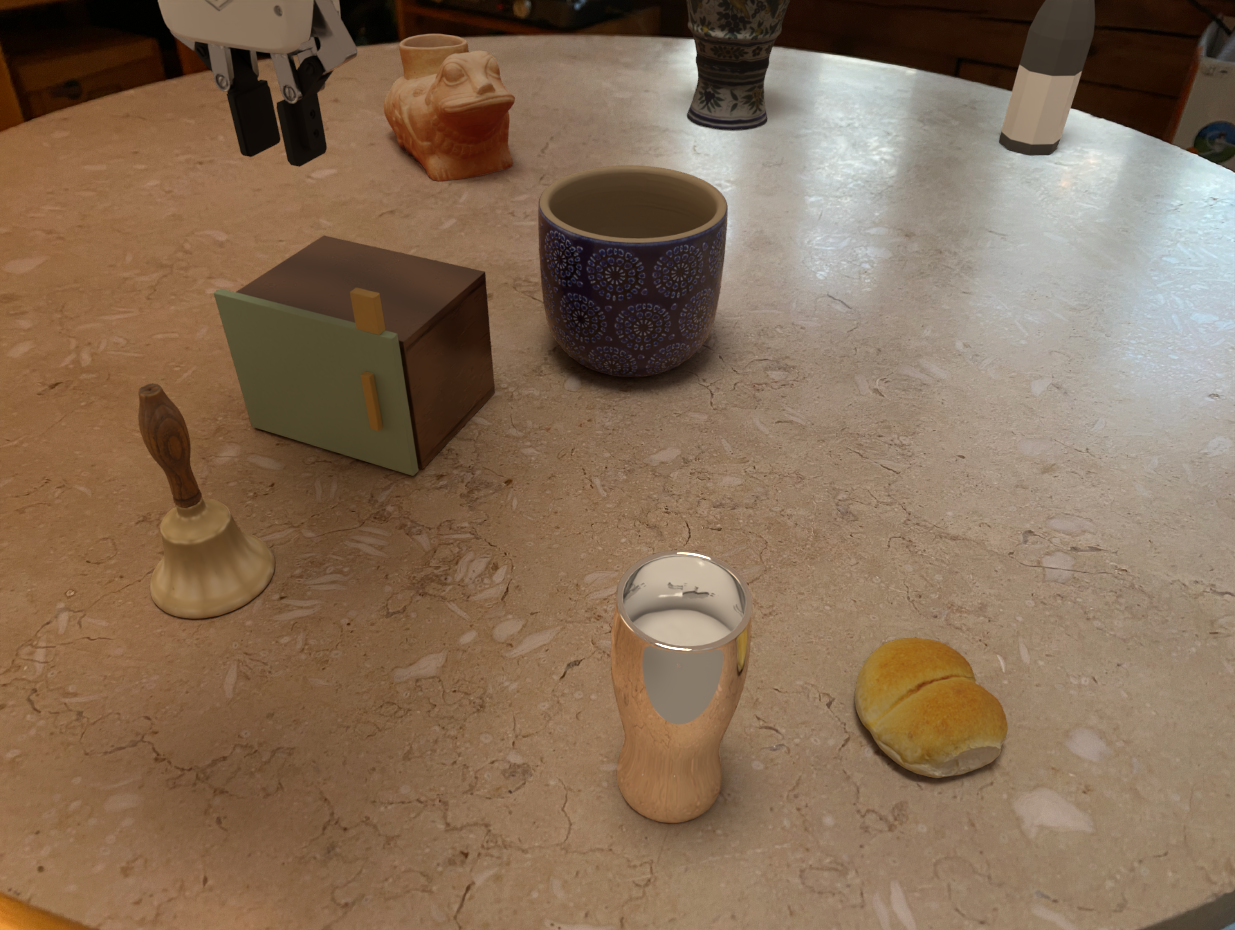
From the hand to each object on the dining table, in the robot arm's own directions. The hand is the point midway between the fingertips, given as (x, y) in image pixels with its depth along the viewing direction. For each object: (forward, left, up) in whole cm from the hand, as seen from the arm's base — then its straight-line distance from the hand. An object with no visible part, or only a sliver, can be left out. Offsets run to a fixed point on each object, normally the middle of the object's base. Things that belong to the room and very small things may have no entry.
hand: (284, 151), depth 61 cm
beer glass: (-17, -34, -25) cm, 46 cm away
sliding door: (0, +1, -25) cm, 25 cm away
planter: (+25, -14, -25) cm, 38 cm away
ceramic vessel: (+61, +27, -25) cm, 71 cm away
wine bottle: (+99, -45, -25) cm, 112 cm away
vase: (+92, -2, -25) cm, 95 cm away
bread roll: (-7, -47, -25) cm, 54 cm away
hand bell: (-15, +1, -25) cm, 30 cm away
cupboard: (+7, +2, -25) cm, 26 cm away
